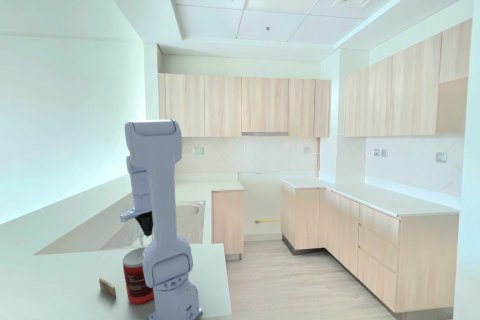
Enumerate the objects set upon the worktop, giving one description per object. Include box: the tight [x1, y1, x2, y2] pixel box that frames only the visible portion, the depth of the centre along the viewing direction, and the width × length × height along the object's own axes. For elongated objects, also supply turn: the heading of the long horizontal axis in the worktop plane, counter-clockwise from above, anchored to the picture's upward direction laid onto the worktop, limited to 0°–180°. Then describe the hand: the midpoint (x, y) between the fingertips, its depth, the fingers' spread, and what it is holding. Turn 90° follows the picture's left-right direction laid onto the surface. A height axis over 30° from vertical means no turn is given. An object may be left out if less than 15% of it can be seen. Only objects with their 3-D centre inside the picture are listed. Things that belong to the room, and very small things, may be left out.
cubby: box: [98, 277, 117, 299], centre depth 63 cm, size 7×10×3 cm
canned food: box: [122, 246, 154, 306], centre depth 57 cm, size 8×8×11 cm
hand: (148, 234), depth 70 cm, fingers closed
